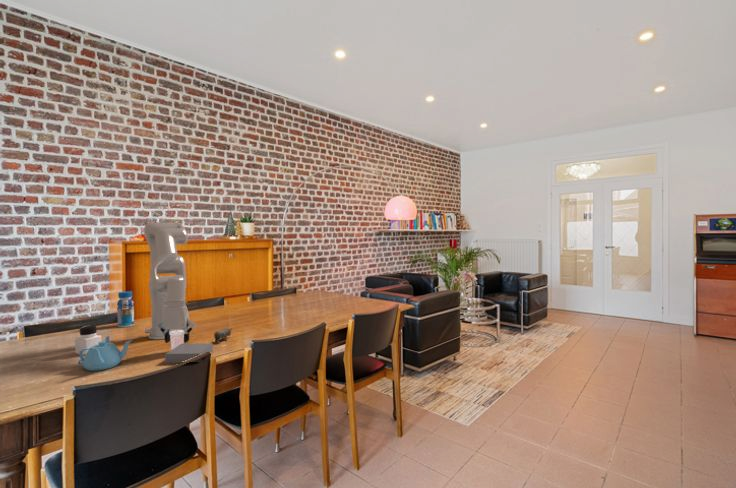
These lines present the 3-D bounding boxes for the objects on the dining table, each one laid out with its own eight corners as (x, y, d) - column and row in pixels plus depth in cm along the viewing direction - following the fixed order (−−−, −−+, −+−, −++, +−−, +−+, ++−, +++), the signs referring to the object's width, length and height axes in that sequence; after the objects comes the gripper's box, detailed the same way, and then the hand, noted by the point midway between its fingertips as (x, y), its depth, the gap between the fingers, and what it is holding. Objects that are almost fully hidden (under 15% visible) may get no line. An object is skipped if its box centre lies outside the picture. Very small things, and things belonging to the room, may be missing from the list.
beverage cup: (166, 352, 166) (165, 321, 166) (178, 348, 172) (177, 318, 172) (176, 353, 164) (175, 323, 164) (187, 349, 170) (187, 320, 169)
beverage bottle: (113, 327, 212) (112, 293, 211) (125, 323, 220) (124, 290, 220) (126, 327, 211) (125, 293, 210) (137, 324, 219) (137, 291, 218)
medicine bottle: (102, 350, 169) (101, 325, 169) (86, 355, 162) (85, 328, 162) (91, 349, 171) (90, 323, 171) (75, 353, 165) (74, 327, 164)
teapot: (71, 370, 145) (71, 344, 145) (110, 357, 159) (110, 334, 159) (95, 375, 140) (94, 348, 139) (133, 362, 154) (133, 338, 153)
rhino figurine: (235, 336, 192) (235, 325, 191) (219, 344, 178) (219, 332, 178) (228, 336, 192) (228, 324, 192) (211, 343, 179) (211, 331, 179)
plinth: (165, 363, 152) (165, 353, 152) (181, 352, 166) (181, 343, 166) (199, 362, 152) (199, 353, 152) (212, 352, 166) (212, 343, 166)
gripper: (152, 305, 163) (153, 344, 164) (191, 305, 164) (192, 344, 164) (161, 302, 171) (162, 339, 171) (199, 302, 171) (199, 339, 172)
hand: (177, 341), depth 168 cm, fingers open, 7 cm apart
